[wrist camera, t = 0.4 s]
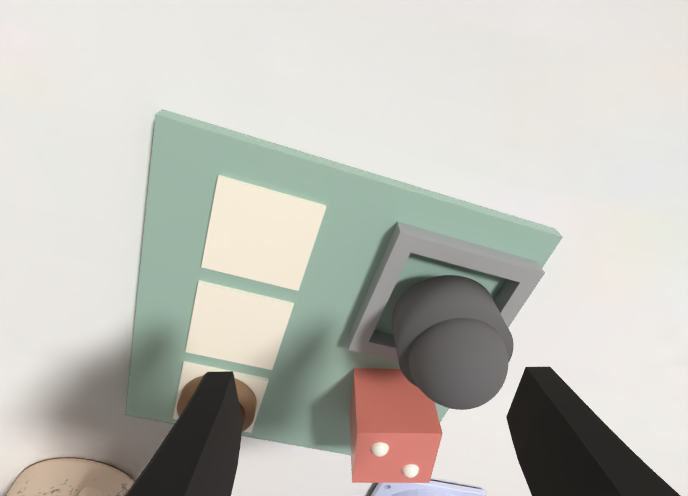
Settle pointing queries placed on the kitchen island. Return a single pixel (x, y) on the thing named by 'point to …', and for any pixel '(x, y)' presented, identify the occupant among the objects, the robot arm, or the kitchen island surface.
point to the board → (296, 275)
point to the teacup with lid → (71, 479)
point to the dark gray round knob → (452, 341)
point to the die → (391, 428)
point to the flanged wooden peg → (244, 396)
